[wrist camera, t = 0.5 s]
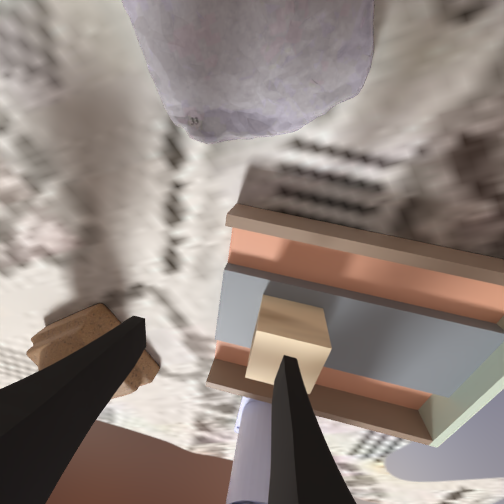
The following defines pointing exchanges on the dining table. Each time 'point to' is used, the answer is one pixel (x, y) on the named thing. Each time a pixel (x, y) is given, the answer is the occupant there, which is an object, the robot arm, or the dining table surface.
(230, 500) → the robot arm
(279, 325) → the maple block
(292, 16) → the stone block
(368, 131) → the dining table surface
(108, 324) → the candle holder
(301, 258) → the box
